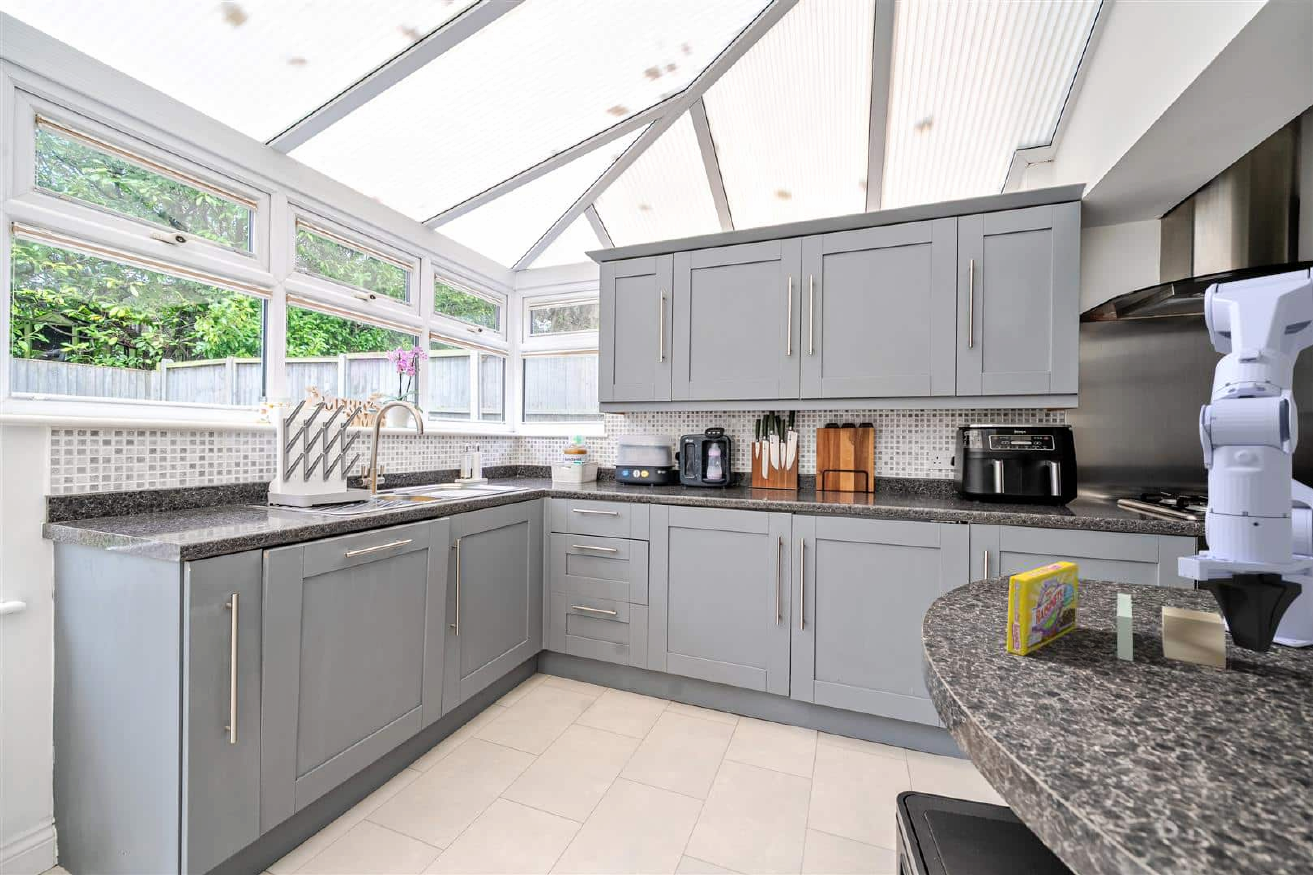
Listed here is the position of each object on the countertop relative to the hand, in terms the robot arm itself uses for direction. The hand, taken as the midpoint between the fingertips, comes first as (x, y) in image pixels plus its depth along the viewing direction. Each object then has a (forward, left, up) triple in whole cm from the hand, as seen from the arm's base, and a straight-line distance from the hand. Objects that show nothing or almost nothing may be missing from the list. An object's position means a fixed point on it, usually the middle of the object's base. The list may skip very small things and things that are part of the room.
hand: (1251, 648), depth 54 cm
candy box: (+12, -12, -2) cm, 17 cm away
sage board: (+5, -8, -2) cm, 10 cm away
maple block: (+2, -4, -2) cm, 5 cm away
